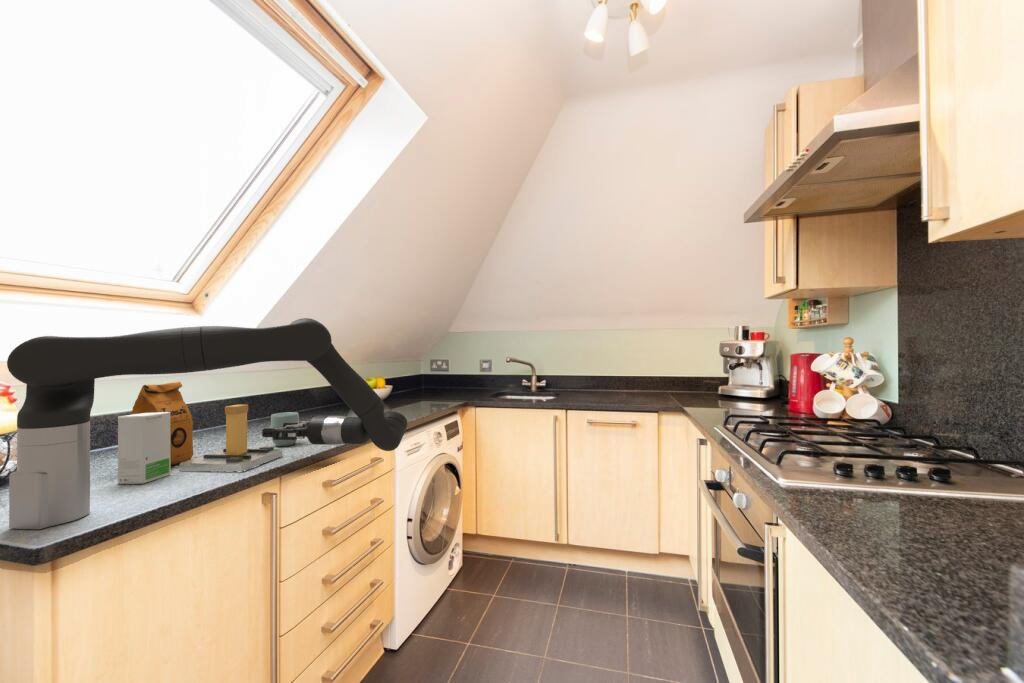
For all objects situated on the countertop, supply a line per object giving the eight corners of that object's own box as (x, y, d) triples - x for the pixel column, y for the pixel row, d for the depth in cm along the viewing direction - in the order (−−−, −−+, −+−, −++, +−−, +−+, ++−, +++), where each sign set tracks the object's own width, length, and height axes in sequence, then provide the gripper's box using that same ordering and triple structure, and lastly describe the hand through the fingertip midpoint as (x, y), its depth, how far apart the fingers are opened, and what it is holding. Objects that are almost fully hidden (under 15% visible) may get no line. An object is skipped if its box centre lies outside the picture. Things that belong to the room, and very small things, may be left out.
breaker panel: (241, 472, 109) (241, 461, 109) (179, 471, 111) (179, 460, 111) (282, 456, 125) (282, 446, 125) (227, 455, 126) (227, 445, 127)
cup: (279, 449, 134) (279, 416, 134) (266, 446, 138) (266, 414, 139) (303, 444, 141) (303, 413, 141) (290, 441, 145) (290, 411, 145)
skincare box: (143, 484, 100) (143, 416, 100) (114, 484, 100) (114, 416, 100) (172, 474, 108) (172, 411, 108) (146, 474, 108) (146, 411, 108)
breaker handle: (236, 455, 116) (236, 406, 116) (224, 455, 117) (224, 406, 117) (248, 451, 121) (248, 404, 121) (236, 451, 121) (236, 404, 121)
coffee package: (199, 460, 122) (199, 381, 122) (156, 472, 110) (156, 384, 110) (169, 458, 124) (169, 381, 124) (123, 471, 111) (123, 384, 112)
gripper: (343, 412, 123) (289, 411, 125) (315, 420, 109) (255, 419, 111) (344, 438, 123) (289, 438, 125) (316, 450, 109) (255, 449, 110)
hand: (273, 429), depth 118 cm, fingers open, 8 cm apart
